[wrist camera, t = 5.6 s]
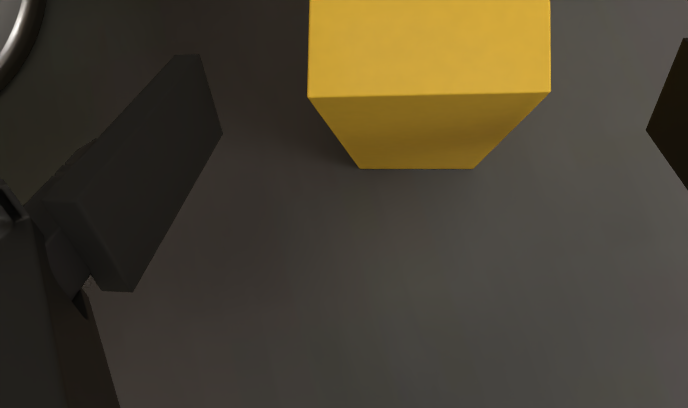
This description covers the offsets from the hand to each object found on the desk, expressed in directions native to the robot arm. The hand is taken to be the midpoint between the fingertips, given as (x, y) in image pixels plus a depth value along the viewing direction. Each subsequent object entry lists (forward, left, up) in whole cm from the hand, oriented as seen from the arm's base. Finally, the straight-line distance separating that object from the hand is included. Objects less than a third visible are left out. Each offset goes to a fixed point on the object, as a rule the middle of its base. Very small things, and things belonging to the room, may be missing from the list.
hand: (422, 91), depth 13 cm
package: (0, +3, -9) cm, 10 cm away
